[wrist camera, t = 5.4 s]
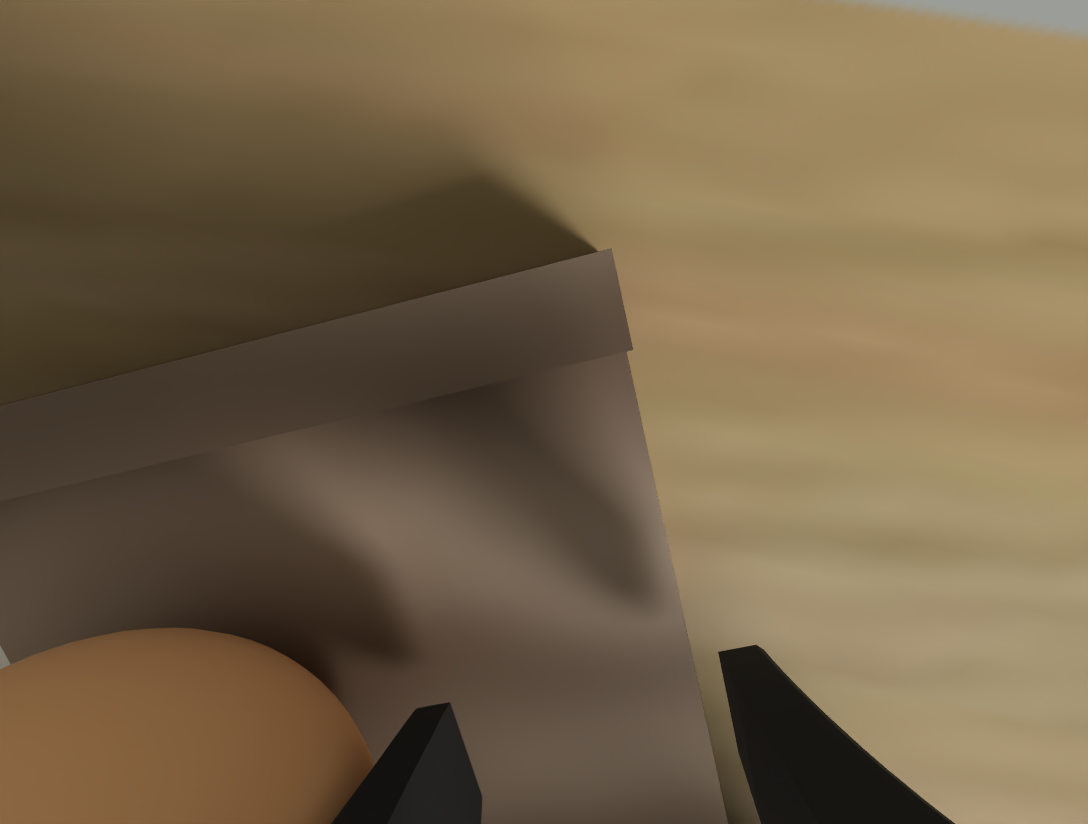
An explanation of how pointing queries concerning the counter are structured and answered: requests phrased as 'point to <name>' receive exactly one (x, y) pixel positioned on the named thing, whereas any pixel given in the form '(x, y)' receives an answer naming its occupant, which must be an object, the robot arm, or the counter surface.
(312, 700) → the ball
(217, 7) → the counter surface
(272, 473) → the tray
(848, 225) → the counter surface
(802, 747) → the robot arm
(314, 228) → the counter surface
